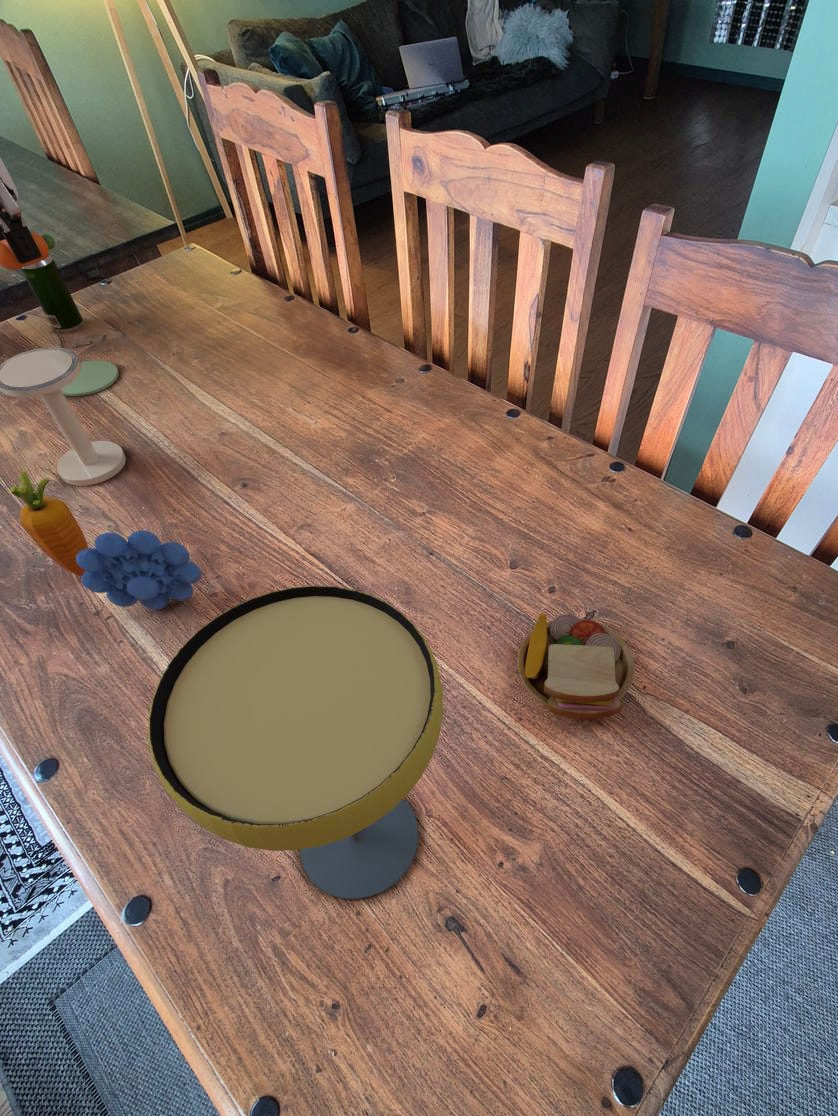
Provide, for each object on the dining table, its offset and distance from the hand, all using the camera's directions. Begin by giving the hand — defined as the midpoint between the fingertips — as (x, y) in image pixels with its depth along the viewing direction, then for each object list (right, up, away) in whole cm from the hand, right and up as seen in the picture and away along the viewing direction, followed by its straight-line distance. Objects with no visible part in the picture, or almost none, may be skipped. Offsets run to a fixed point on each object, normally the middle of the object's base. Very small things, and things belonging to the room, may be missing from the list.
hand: (23, 254), depth 93 cm
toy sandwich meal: (+75, -58, -22) cm, 98 cm away
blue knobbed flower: (+27, -51, -16) cm, 60 cm away
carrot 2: (+16, -47, -12) cm, 51 cm away
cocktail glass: (+54, -73, -33) cm, 96 cm away
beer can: (-10, +2, +26) cm, 28 cm away
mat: (0, -12, +15) cm, 19 cm away
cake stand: (+9, -30, +1) cm, 31 cm away
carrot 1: (0, 0, +1) cm, 1 cm away
